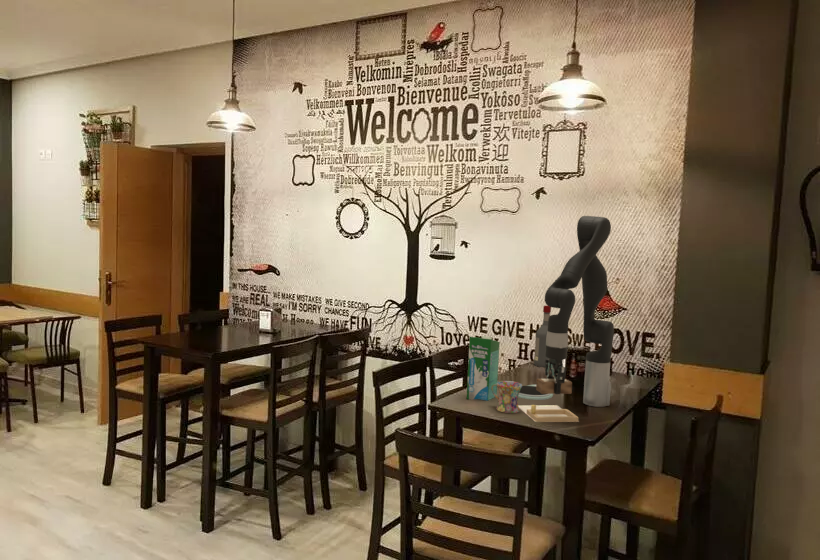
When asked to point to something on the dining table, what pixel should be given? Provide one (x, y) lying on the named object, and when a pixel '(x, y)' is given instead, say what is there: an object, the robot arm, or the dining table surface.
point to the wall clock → (532, 393)
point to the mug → (508, 396)
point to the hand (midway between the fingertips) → (553, 391)
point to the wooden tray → (548, 413)
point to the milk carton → (482, 368)
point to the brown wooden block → (548, 386)
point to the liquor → (542, 339)
